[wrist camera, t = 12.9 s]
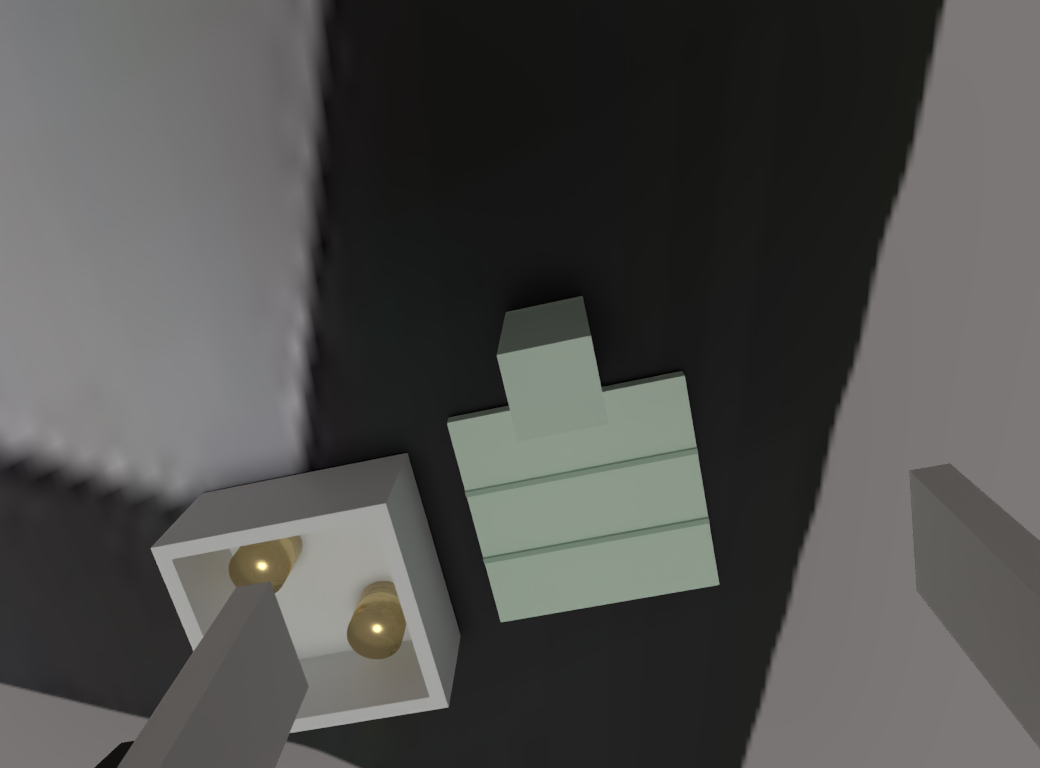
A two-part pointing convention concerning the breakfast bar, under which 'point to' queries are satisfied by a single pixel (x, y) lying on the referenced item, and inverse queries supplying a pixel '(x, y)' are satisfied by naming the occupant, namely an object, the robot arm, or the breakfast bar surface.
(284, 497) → the tub
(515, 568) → the green stepped block
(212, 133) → the breakfast bar surface
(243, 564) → the slug
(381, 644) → the cylinder
